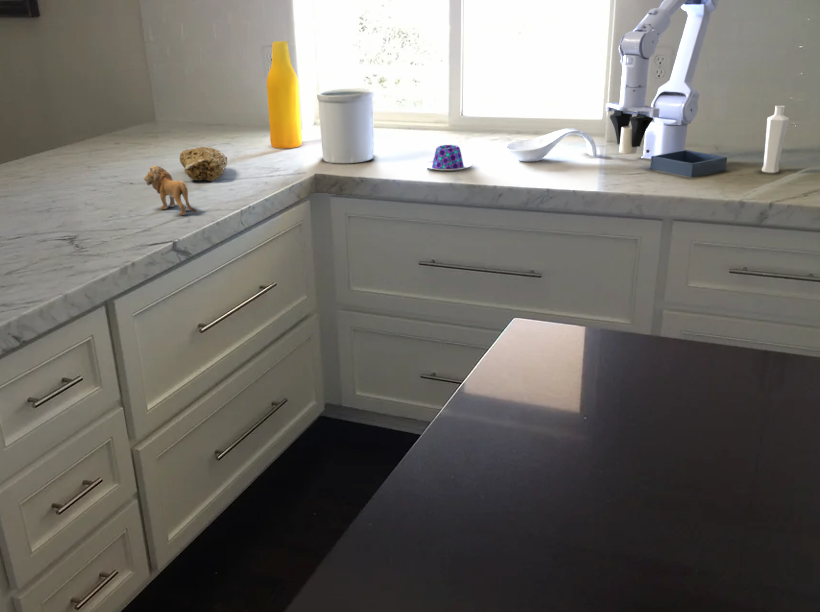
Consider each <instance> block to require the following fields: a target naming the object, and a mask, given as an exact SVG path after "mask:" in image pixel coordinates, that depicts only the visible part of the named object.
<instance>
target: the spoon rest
mask: <svg viewBox="0 0 820 612" xmlns="http://www.w3.org/2000/svg"><path fill="white" fill-rule="evenodd" d="M571 135H577V136H580V137H581V138H583V139H584V140H585V142H586V148H587V149H586V152H587V154H588V155H589V156H592V157H596V156H597V150H598V149H597V145H596V142H595V141H594V139H593V137H592V136H591V135H590V134H589V133H587V132H585V131H583V130H581V129H578V128H573V127H567V128H562V129H559V130H556V131H553V132H550V133H547V134H544V135H540V136H537V137H533V138H529V139H523V140H519V141H513V142H510V143H508V144H506V145H505V146H504V149H505V151H506V153H507V154H508V155H509V156H510V157H511V158H512V159H514V160H517V161H519V162H529V163H531V162H539V161H541V160H543V158H544V157H546V156H547V155H548V154H549V153H550V152H551V150H552V149H554V147H556V145H557V144H558V143H559V142H561V140H563V139H565V138H566V137H568V136H571Z"/></svg>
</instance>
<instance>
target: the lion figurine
mask: <svg viewBox="0 0 820 612" xmlns="http://www.w3.org/2000/svg"><path fill="white" fill-rule="evenodd" d="M143 180H144V182H146V185H147V186H151V187H152V188H153V189H154V190H156V193H157V194H159V196H160V200H161V203H162V205H161V206H160V210H166V209H168V203H167V196H169V207H170V208H173V207H176V204H177V205H178V207H179V208H180V211H179V216H184V215H186V214H187V213H186V211H187V212H188V211H191V212H192V213H198V210H196V209H195V208H193V207H192V205H190V202H189V189H188V187H187V184H186V183H185V182H184V181H183V180H174V179H173V177H172V175H171V174H170V172H168V171H167V170H166V169H165V168H162V167H161V166H158V165H153V166H150V167H149V172H147V174H146V175H145V177H144V178H143ZM181 197H183V200H184V202H185V204H184V203H183V202H182V198H181Z"/></svg>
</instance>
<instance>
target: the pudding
mask: <svg viewBox="0 0 820 612" xmlns="http://www.w3.org/2000/svg"><path fill="white" fill-rule="evenodd" d="M472 165H473V163H471V162H470V161H466V160H463V155H462V151H461V147H460V146H459V145H455V144H443V145H442V144H441V145H438V146H437V147H436V148H435V152H434V156H433V160H432V161H428V162H425V163H424V164H423V166H424V167H425V168H427V169H431V170H435V171H441V172H453V171H454V172H455V171H461V170H463V169H467V168H469V167H471V166H472Z"/></svg>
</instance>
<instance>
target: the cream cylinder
mask: <svg viewBox="0 0 820 612" xmlns="http://www.w3.org/2000/svg"><path fill="white" fill-rule="evenodd" d="M618 152H619V154H622V155H635V154H637V152H638V147H632V126H631V125H629V126H622V127H621V137H620V145H619V151H618Z"/></svg>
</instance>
